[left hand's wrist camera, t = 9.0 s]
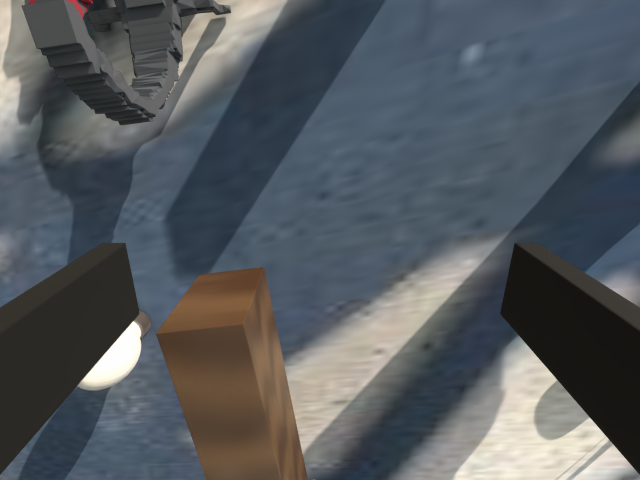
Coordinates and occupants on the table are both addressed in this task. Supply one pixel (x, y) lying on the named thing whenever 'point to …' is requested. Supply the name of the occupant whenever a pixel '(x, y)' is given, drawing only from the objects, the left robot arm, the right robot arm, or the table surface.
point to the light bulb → (118, 357)
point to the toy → (94, 67)
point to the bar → (233, 378)
